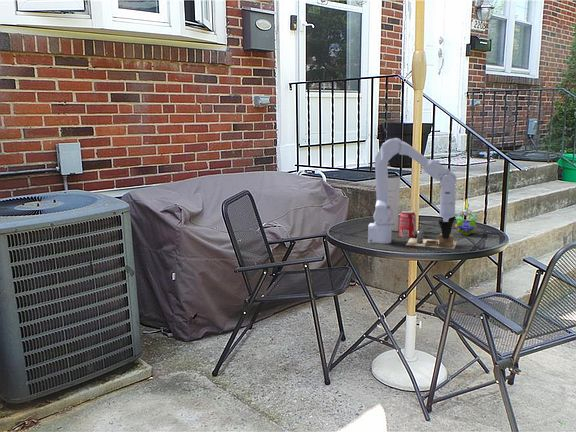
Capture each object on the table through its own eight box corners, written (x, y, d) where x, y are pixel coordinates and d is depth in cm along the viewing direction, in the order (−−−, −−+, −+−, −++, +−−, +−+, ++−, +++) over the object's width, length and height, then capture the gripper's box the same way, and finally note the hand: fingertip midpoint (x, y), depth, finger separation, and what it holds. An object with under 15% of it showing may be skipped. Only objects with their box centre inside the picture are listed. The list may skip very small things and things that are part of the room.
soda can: (412, 236, 230) (413, 209, 228) (417, 240, 223) (418, 212, 221) (397, 236, 230) (397, 210, 228) (401, 240, 223) (401, 213, 221)
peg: (416, 243, 212) (416, 231, 212) (417, 242, 215) (417, 230, 214) (422, 243, 212) (422, 231, 211) (423, 242, 214) (423, 230, 213)
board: (405, 247, 210) (405, 237, 209) (410, 240, 222) (410, 231, 222) (454, 251, 203) (454, 241, 202) (456, 243, 216) (457, 233, 215)
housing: (438, 246, 206) (439, 235, 205) (440, 244, 211) (440, 232, 210) (452, 247, 204) (452, 236, 203) (453, 244, 209) (453, 233, 208)
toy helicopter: (455, 229, 243) (456, 198, 241) (475, 230, 241) (477, 199, 238) (454, 241, 220) (455, 207, 217) (476, 242, 217) (478, 208, 215)
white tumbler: (397, 228, 246) (398, 174, 242) (400, 233, 236) (401, 176, 231) (375, 228, 247) (375, 174, 243) (376, 233, 237) (377, 176, 232)
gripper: (457, 206, 196) (455, 241, 199) (459, 200, 209) (458, 233, 212) (437, 205, 199) (436, 239, 201) (441, 199, 212) (440, 232, 214)
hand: (446, 236), depth 207 cm, fingers open, 7 cm apart
